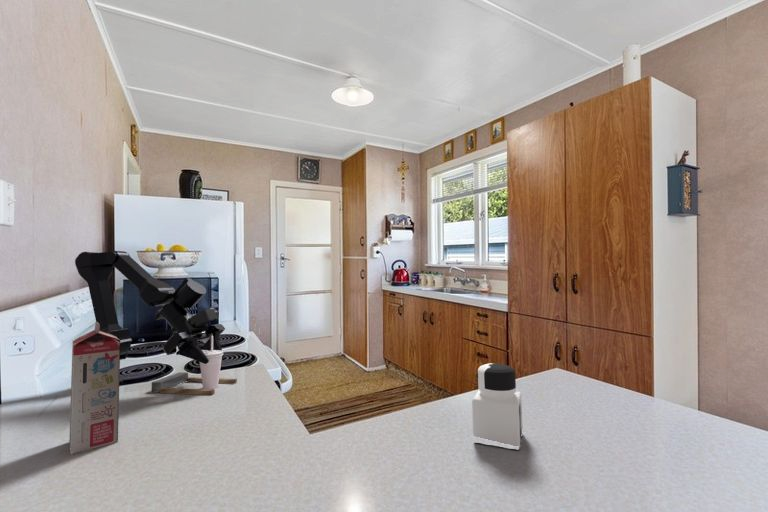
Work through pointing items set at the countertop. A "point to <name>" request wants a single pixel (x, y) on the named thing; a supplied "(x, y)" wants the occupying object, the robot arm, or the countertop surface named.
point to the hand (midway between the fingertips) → (215, 359)
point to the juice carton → (94, 390)
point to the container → (497, 405)
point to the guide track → (181, 377)
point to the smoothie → (211, 368)
